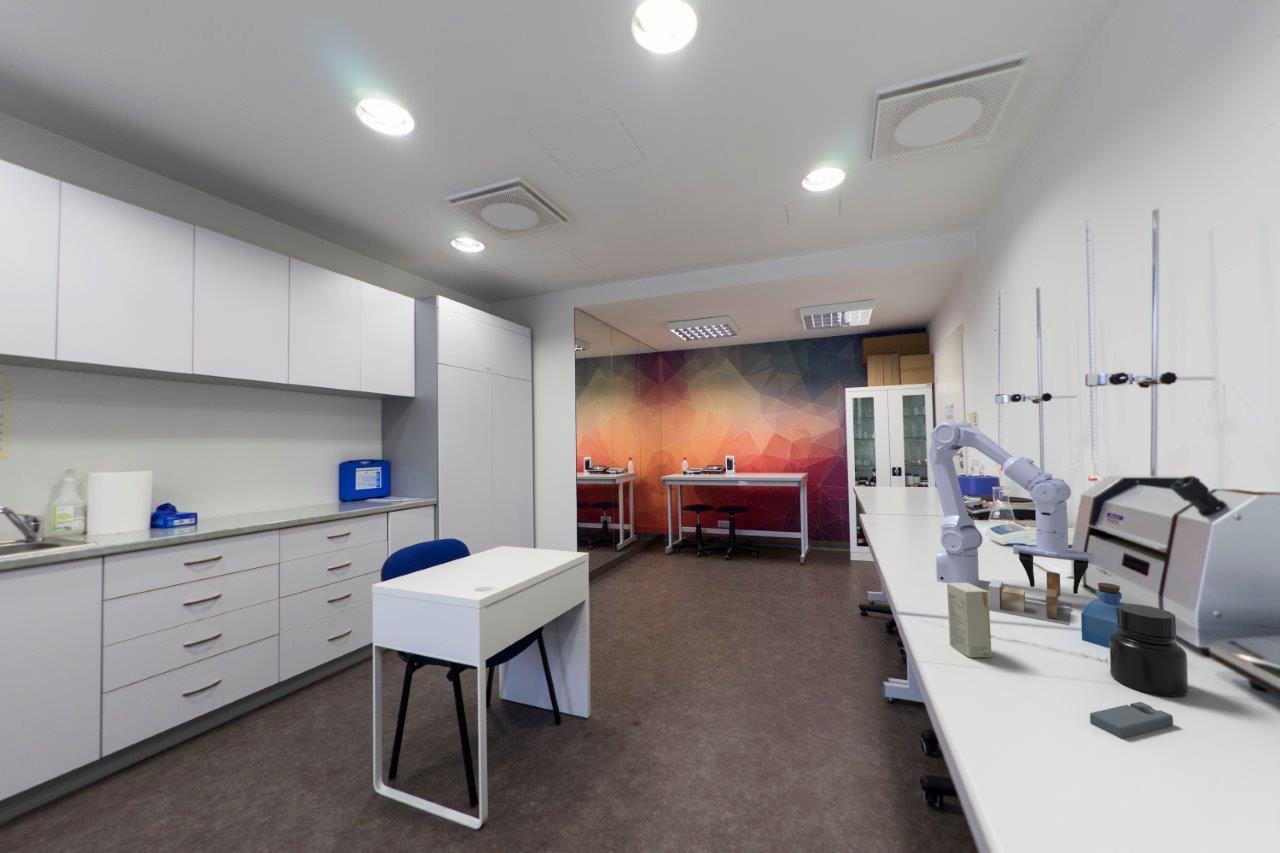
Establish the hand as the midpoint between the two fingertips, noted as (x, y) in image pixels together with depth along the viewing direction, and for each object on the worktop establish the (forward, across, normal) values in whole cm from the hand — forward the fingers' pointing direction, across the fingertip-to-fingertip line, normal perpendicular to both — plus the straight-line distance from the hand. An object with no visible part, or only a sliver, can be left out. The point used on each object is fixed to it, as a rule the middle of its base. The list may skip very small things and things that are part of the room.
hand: (1053, 589), depth 115 cm
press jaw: (+3, 0, -5) cm, 6 cm away
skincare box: (+5, -11, -38) cm, 40 cm away
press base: (+4, -4, -6) cm, 8 cm away
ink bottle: (+5, +13, -34) cm, 37 cm away
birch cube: (+3, -7, -9) cm, 12 cm away
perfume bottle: (+5, +9, -20) cm, 22 cm away
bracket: (+5, +10, -51) cm, 52 cm away
